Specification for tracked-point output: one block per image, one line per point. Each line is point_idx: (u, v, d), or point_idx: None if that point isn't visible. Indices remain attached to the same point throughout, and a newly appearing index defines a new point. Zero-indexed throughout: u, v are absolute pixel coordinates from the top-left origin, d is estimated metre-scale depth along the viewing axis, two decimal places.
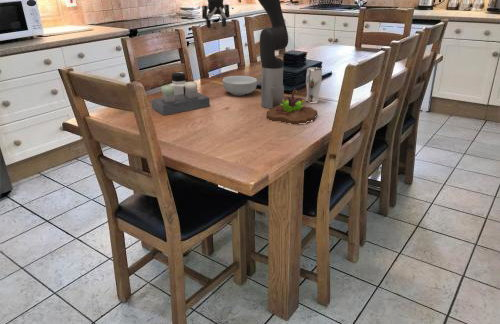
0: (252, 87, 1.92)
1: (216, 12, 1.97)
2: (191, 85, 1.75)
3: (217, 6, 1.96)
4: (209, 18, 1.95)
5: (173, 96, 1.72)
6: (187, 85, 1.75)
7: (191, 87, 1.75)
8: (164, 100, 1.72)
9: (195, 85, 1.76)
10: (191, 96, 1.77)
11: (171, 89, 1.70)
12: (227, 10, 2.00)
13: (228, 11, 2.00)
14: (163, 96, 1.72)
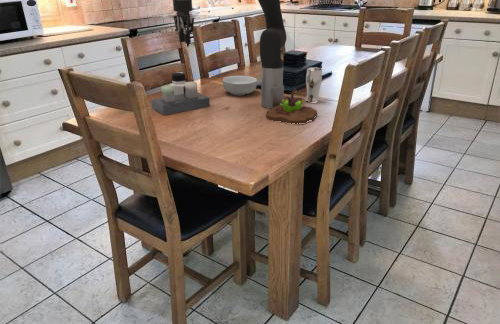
0: (252, 87, 1.92)
1: None
2: (191, 85, 1.75)
3: None
4: None
5: (173, 96, 1.72)
6: (187, 85, 1.75)
7: (191, 87, 1.75)
8: (164, 100, 1.72)
9: (195, 85, 1.76)
10: (191, 96, 1.77)
11: (171, 89, 1.70)
12: None
13: None
14: (163, 96, 1.72)
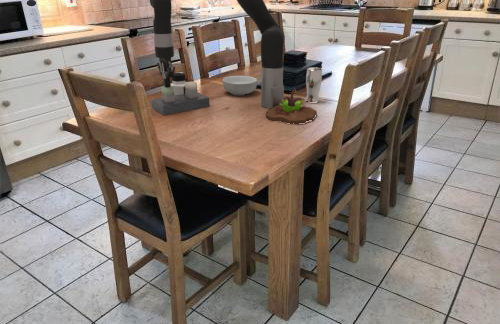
0: (252, 87, 1.92)
1: None
2: (191, 85, 1.75)
3: None
4: None
5: (173, 96, 1.72)
6: (187, 85, 1.75)
7: (191, 87, 1.75)
8: (164, 100, 1.72)
9: (195, 85, 1.76)
10: (191, 96, 1.77)
11: (171, 89, 1.70)
12: None
13: None
14: (163, 96, 1.72)
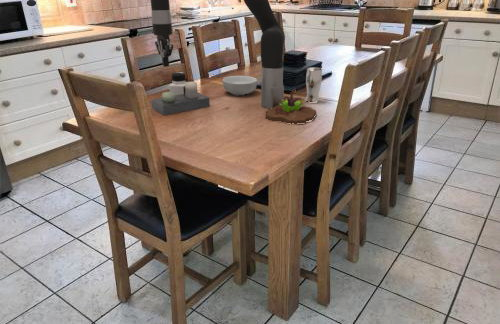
0: (252, 87, 1.92)
1: None
2: (191, 85, 1.75)
3: None
4: None
5: None
6: (187, 85, 1.75)
7: (191, 87, 1.75)
8: None
9: (195, 85, 1.76)
10: (191, 96, 1.77)
11: (172, 96, 1.71)
12: None
13: None
14: None
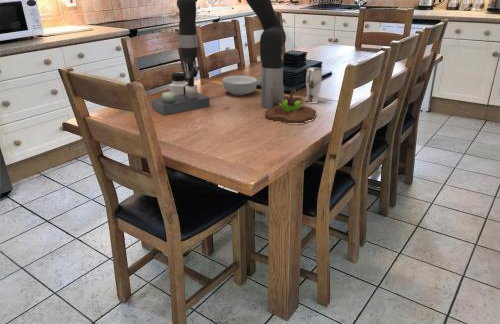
0: (252, 87, 1.92)
1: None
2: (191, 88, 1.75)
3: None
4: None
5: None
6: (187, 88, 1.75)
7: (191, 90, 1.75)
8: None
9: (195, 88, 1.76)
10: None
11: (172, 96, 1.71)
12: None
13: None
14: None
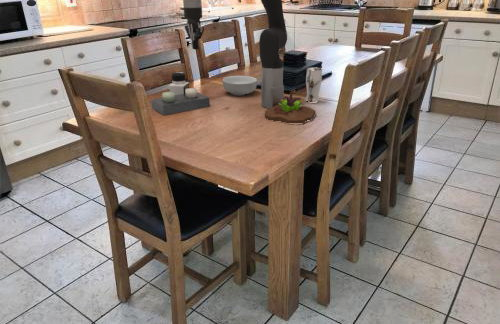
0: (252, 87, 1.92)
1: None
2: (191, 91, 1.76)
3: None
4: None
5: None
6: (187, 91, 1.76)
7: (192, 94, 1.76)
8: None
9: (195, 91, 1.77)
10: None
11: (172, 96, 1.71)
12: None
13: None
14: None
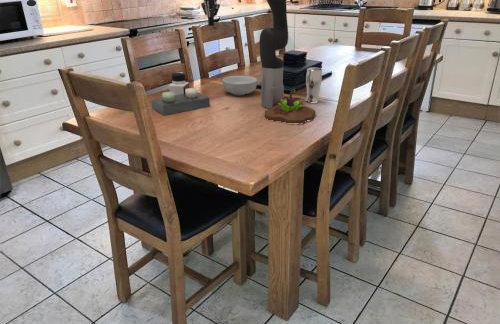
0: (252, 87, 1.92)
1: None
2: (191, 91, 1.76)
3: None
4: None
5: None
6: (187, 91, 1.76)
7: (192, 94, 1.76)
8: None
9: (195, 91, 1.77)
10: None
11: (172, 96, 1.71)
12: None
13: None
14: None
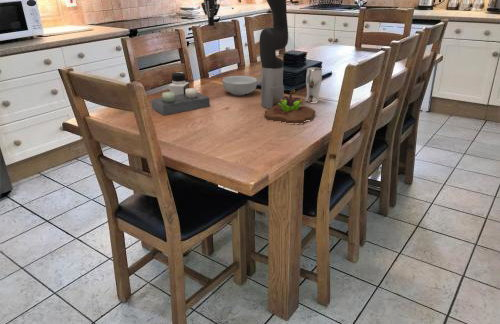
0: (252, 87, 1.92)
1: None
2: (191, 91, 1.76)
3: None
4: None
5: None
6: (187, 91, 1.76)
7: (192, 94, 1.76)
8: None
9: (195, 91, 1.77)
10: None
11: (172, 96, 1.71)
12: None
13: None
14: None
